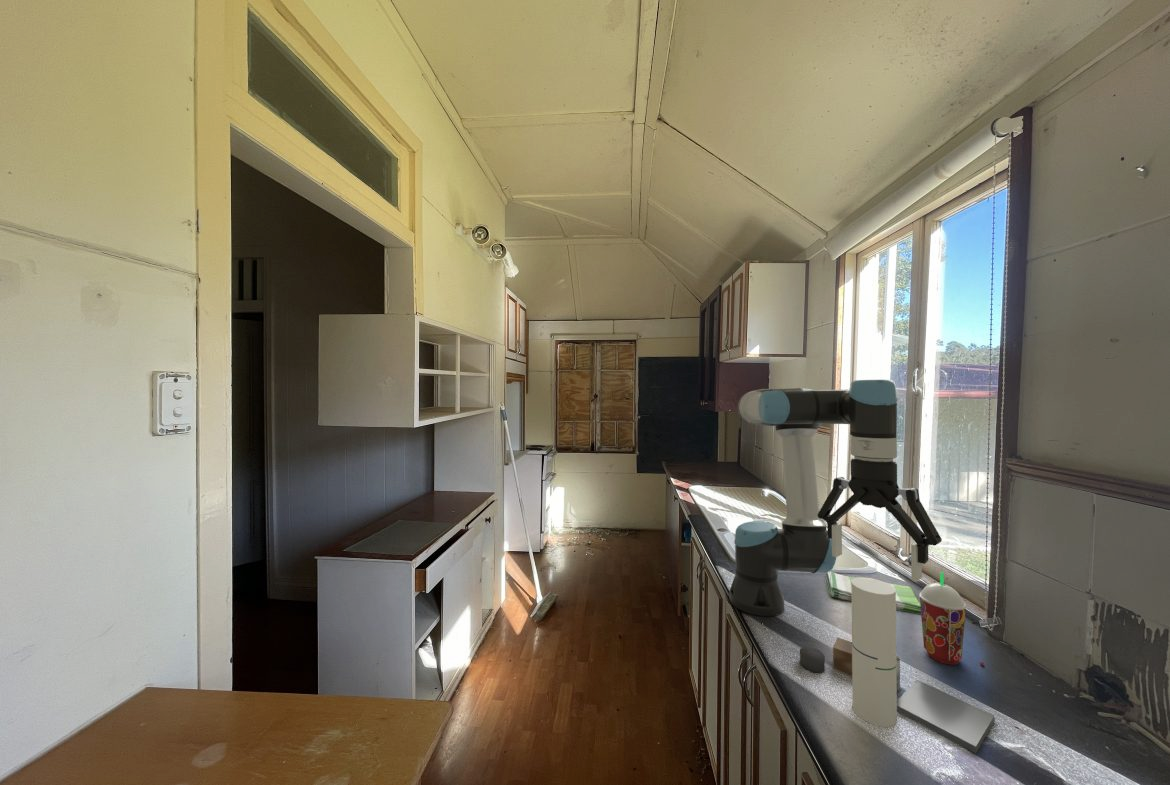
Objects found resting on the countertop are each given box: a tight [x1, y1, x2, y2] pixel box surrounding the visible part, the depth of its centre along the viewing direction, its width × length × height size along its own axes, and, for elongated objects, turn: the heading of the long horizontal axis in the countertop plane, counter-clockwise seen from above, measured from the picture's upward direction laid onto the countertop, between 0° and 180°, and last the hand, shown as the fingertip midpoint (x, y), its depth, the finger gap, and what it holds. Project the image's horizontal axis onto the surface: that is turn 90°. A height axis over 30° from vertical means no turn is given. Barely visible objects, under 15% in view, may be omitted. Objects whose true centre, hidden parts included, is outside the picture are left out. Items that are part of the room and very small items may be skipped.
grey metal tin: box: [896, 655, 901, 693], centre depth 89 cm, size 5×5×6 cm
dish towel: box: [825, 570, 921, 615], centre depth 128 cm, size 17×23×4 cm
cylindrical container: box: [851, 576, 898, 728], centre depth 81 cm, size 7×7×25 cm
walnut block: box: [832, 636, 852, 677], centre depth 94 cm, size 5×5×5 cm
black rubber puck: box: [799, 646, 826, 674], centre depth 95 cm, size 5×5×3 cm
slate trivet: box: [897, 679, 996, 754], centre depth 80 cm, size 12×12×1 cm
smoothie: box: [918, 571, 967, 666], centre depth 98 cm, size 8×8×20 cm
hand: (874, 566), depth 81 cm, fingers open, 13 cm apart
